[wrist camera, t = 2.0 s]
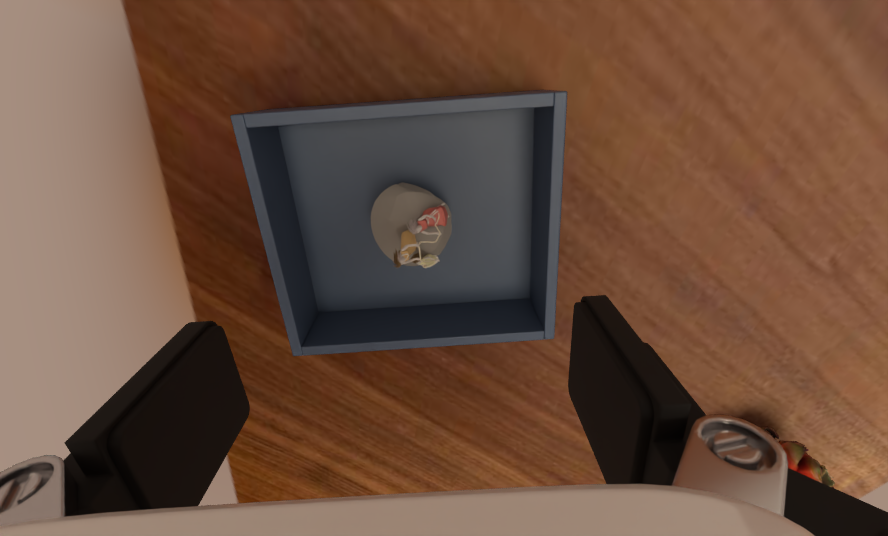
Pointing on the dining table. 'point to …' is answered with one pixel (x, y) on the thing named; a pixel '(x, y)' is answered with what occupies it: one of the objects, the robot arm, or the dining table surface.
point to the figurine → (410, 225)
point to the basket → (434, 169)
